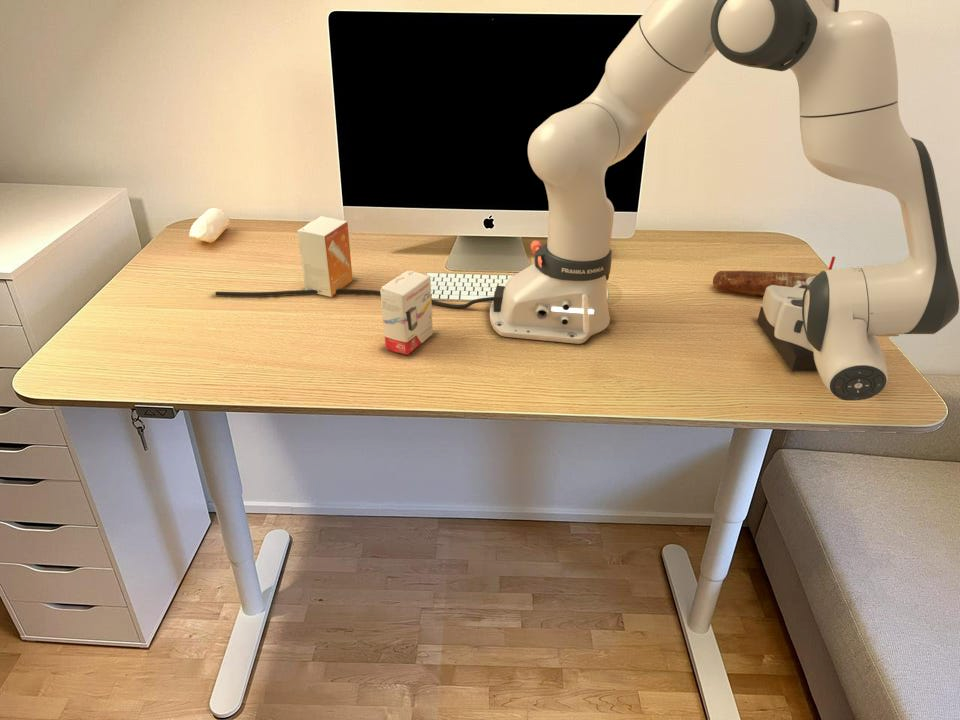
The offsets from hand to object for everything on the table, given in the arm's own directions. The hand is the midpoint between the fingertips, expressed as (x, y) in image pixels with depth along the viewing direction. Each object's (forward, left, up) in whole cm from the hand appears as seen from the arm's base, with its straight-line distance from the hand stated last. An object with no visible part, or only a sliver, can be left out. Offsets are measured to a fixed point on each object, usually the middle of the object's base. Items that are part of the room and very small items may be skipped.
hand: (822, 287), depth 121 cm
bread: (-2, +17, -11) cm, 21 cm away
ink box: (-71, +1, -11) cm, 72 cm away
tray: (0, -1, -11) cm, 11 cm away
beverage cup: (0, -1, -8) cm, 8 cm away
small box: (-88, +22, -11) cm, 91 cm away
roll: (-118, +44, -11) cm, 126 cm away
